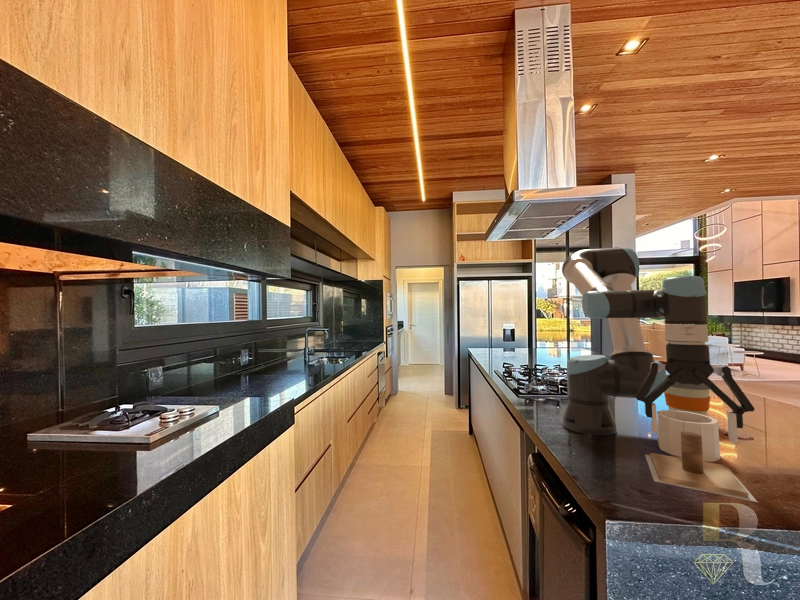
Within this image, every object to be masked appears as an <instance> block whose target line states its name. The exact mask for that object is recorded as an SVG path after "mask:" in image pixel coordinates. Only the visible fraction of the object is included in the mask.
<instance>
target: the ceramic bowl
mask: <svg viewBox="0 0 800 600" xmlns="http://www.w3.org/2000/svg"><path fill="white" fill-rule="evenodd" d="M656 415H657V443H658V444H657V445H658V447H659V449H660V450H661V451H663V452H665V453H667V454H669V455H670V456H674V457H679V458H682V450H681V432H692V433H696V434H699V435H701V436H702V452H703V462H709V463H714V462H718V461H719V460H720V459H721V449H720V445H721V444H720V432H719V431H720V430H719V429H720V427H719V421H718V420H717V419H716V418H713V417H711V416H708V415H702V414H697V413H692V412H686V411H677V410H669V409H662V410H658V411H656Z"/></svg>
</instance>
